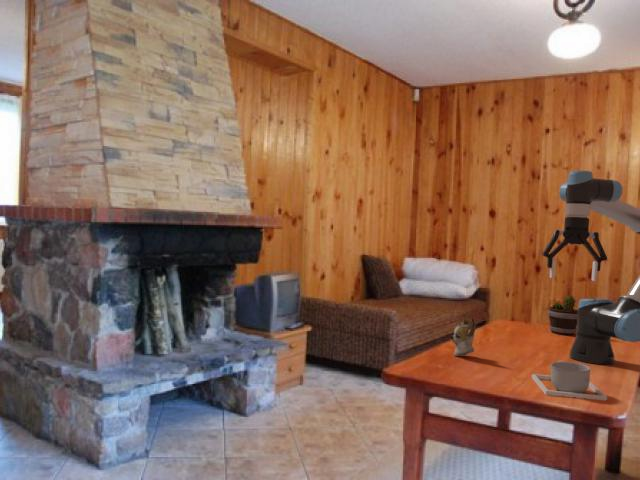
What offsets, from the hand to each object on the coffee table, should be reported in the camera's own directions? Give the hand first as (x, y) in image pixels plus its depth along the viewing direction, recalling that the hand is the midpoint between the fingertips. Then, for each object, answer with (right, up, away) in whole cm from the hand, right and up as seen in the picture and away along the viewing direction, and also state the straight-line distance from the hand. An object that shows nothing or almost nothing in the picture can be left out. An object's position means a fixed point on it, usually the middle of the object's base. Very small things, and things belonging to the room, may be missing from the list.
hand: (572, 279), depth 191 cm
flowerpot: (+29, -31, +74) cm, 85 cm away
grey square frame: (-11, -32, -21) cm, 40 cm away
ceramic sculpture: (-34, -30, +15) cm, 47 cm away
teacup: (-11, -32, -22) cm, 40 cm away
